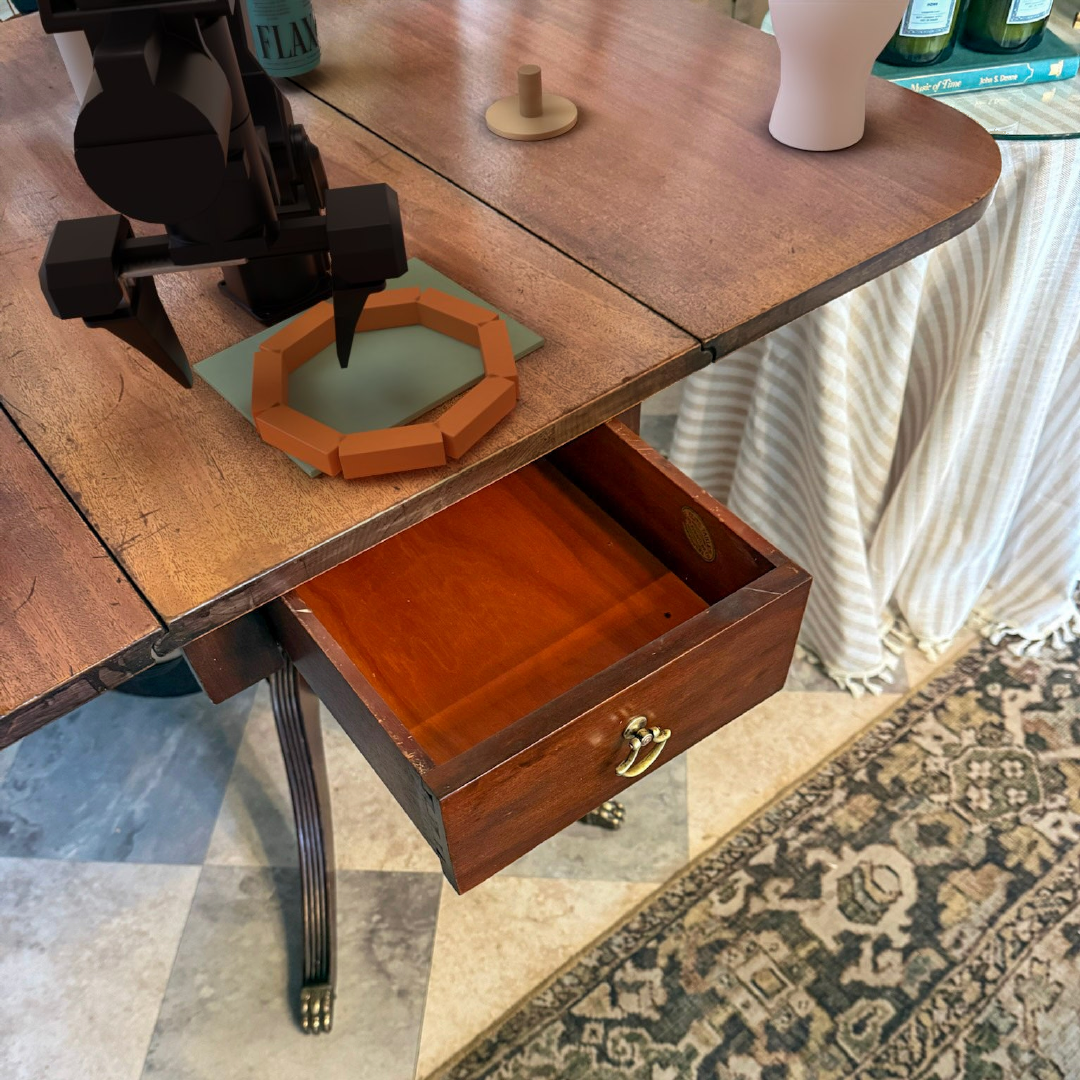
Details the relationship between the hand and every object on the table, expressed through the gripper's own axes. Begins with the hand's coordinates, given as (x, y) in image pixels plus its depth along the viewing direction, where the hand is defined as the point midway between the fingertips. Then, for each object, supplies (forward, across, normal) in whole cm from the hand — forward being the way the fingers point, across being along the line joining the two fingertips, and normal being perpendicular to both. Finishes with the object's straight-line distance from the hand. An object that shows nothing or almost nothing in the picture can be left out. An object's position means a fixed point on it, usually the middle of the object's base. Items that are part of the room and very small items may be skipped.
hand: (267, 374), depth 60 cm
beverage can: (+3, +16, -48) cm, 51 cm away
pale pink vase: (+3, -44, -27) cm, 52 cm away
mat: (+3, -6, -4) cm, 7 cm away
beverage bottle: (+3, -1, -49) cm, 49 cm away
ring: (+2, -7, 0) cm, 7 cm away
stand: (+2, -22, -35) cm, 41 cm away
